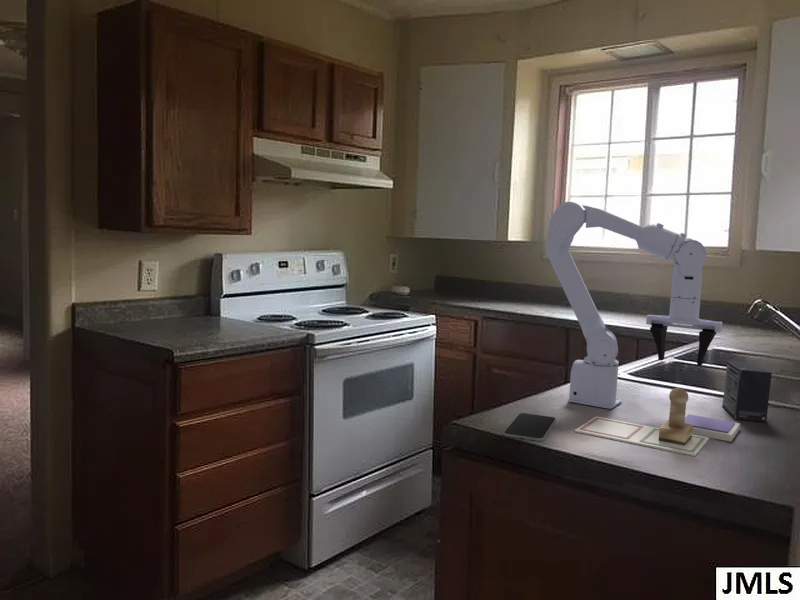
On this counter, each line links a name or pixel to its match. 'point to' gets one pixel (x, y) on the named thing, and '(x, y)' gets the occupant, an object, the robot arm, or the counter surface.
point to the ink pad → (712, 427)
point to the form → (638, 435)
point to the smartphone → (530, 426)
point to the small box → (746, 391)
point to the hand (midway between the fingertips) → (680, 362)
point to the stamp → (676, 420)
